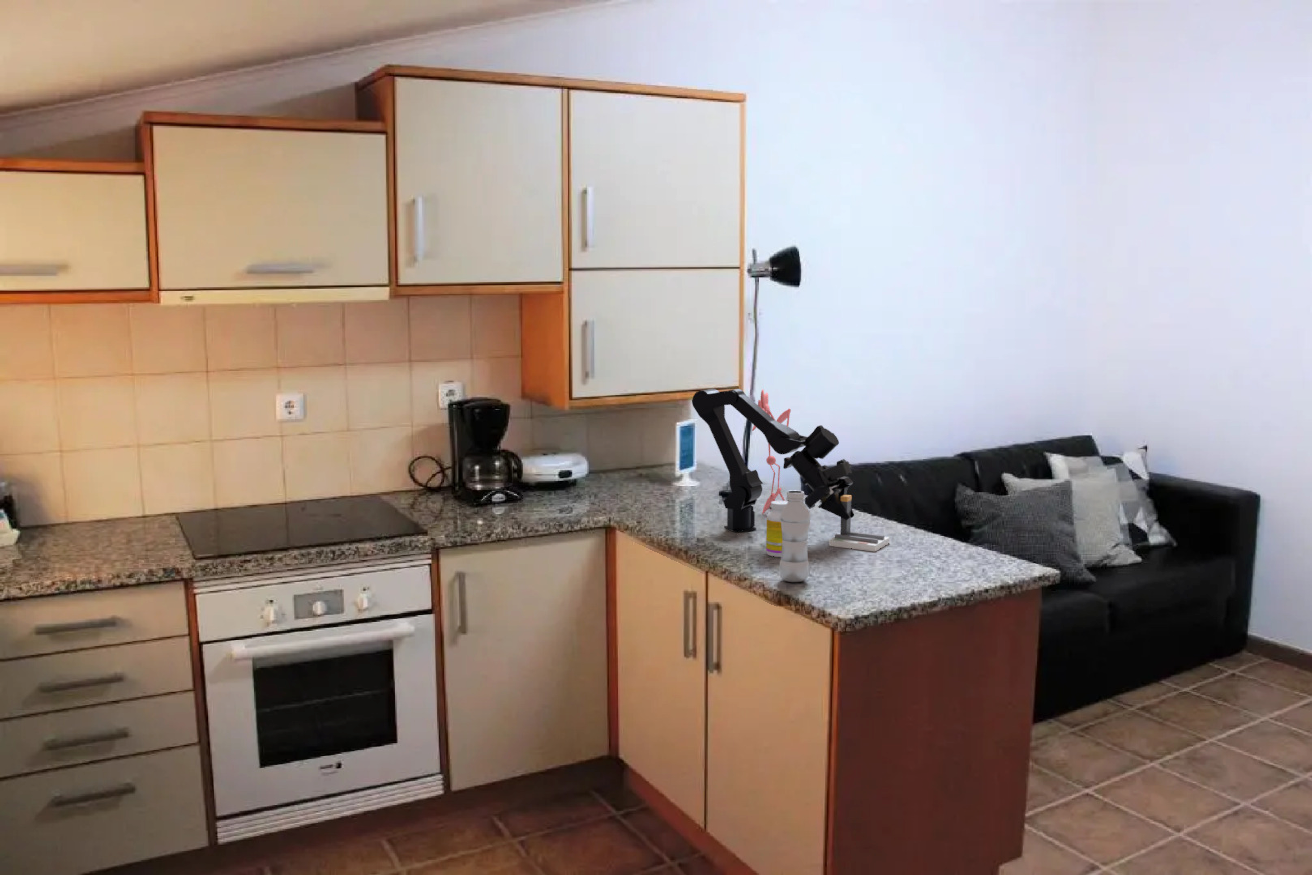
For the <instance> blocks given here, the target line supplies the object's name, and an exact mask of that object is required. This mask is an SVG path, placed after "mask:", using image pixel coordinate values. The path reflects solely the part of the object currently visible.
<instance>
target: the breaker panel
mask: <svg viewBox="0 0 1312 875" xmlns="http://www.w3.org/2000/svg"><path fill="white" fill-rule="evenodd" d="M828 541H829V544H828V546H830V547H837V548H844V549H846V548H847V549H851V548H852V549H851V550H858V551H860V550H861V551H867V552H877V551H878V550H880V548H881V549H883V548H884V547H886V546H887V545H889V544H890V537H888V536H885V535H881V534H875V533H874V534H873V533H867V532H866V533H865V532H857V531H851V530H850V536H849V535H841V534H839V533H836V534H834V536H833V537H832V538H829V540H828ZM888 543H889V544H888ZM885 545H886V546H885Z"/></svg>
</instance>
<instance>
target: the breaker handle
mask: <svg viewBox="0 0 1312 875" xmlns="http://www.w3.org/2000/svg"><path fill="white" fill-rule="evenodd" d="M852 499H853V498H852V494H846V495H843V496H841V504H842V505H843V507H844V508H845V510H846V511H847V513H848V514H849V516H850V518H849V519H848V520H846V519H843V518H841V517H840V534H841V535H849V536H850V531H851V525H852V524H851V520H852V518H851V508H852Z"/></svg>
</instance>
